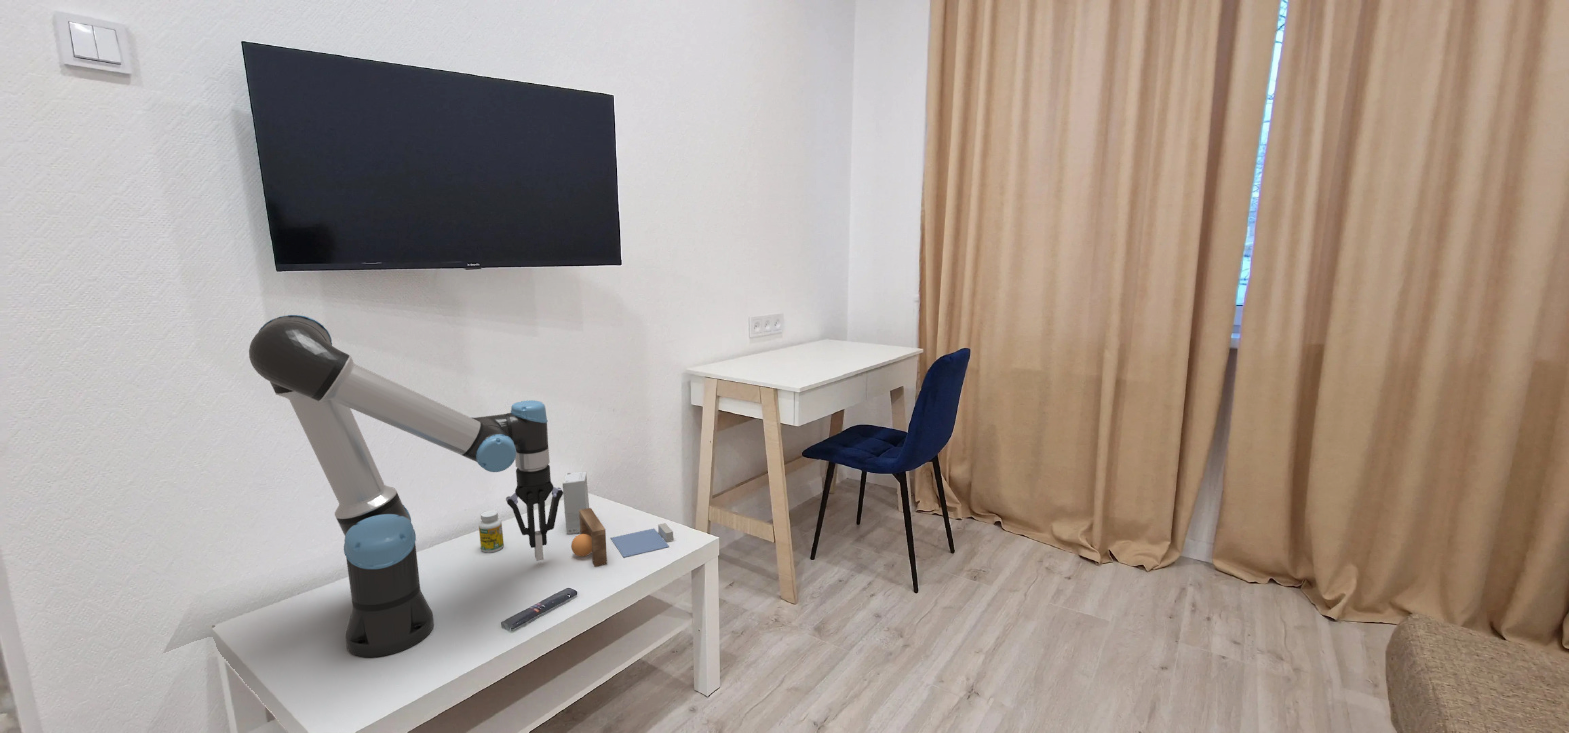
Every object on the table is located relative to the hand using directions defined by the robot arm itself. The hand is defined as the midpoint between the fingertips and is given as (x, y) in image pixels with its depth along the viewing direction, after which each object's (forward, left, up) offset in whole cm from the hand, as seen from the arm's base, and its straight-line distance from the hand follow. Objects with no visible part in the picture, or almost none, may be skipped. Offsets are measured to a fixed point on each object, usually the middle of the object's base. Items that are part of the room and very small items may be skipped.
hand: (539, 558), depth 160 cm
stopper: (+32, 0, -2) cm, 32 cm away
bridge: (+13, 0, -2) cm, 13 cm away
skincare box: (+13, +17, -2) cm, 22 cm away
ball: (+10, 0, +1) cm, 11 cm away
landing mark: (+25, 0, -2) cm, 25 cm away
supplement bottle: (-9, +15, -2) cm, 18 cm away
